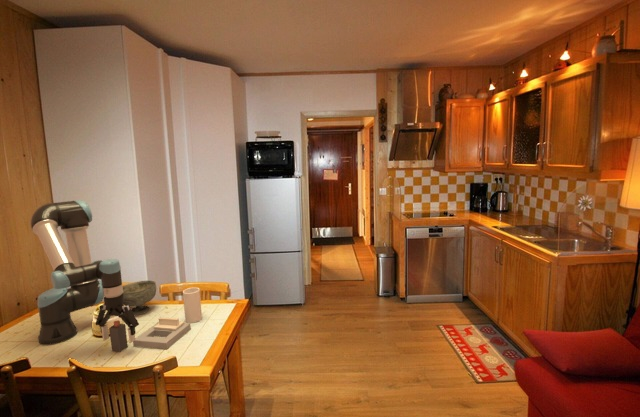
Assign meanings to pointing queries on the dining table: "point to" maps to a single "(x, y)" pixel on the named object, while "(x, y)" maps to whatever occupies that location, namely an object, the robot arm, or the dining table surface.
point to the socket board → (160, 343)
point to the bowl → (139, 295)
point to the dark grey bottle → (118, 337)
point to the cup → (192, 305)
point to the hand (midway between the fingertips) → (119, 340)
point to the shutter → (168, 323)
